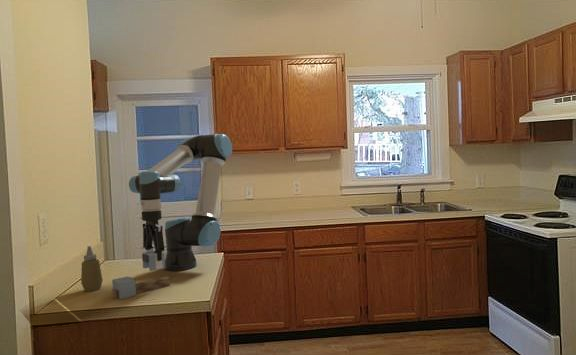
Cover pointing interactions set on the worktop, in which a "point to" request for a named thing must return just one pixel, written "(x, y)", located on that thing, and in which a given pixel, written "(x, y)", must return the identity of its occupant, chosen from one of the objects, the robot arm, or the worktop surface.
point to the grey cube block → (151, 260)
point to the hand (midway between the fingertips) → (154, 267)
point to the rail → (147, 286)
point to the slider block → (125, 286)
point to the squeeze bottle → (91, 272)
